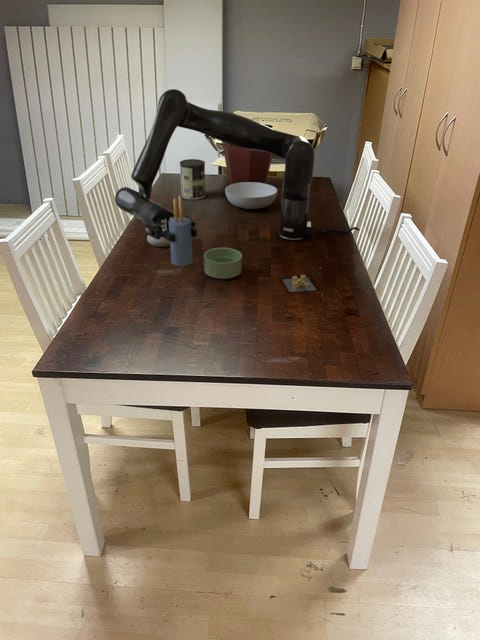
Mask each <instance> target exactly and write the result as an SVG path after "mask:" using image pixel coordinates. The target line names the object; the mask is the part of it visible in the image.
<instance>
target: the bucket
mask: <svg viewBox="0 0 480 640" xmlns="http://www.w3.org/2000/svg"><path fill="white" fill-rule="evenodd" d="M221 144H222V150H223V155H224V162H225V166H226V173H227V178H228V183H229V185H231V184H235V183H242V182H256V183H264V184H267V182H268V177H269V173H270V169H271V164H272V162H273V161H272V160H273V156H274V154H272V153H269V152H265V151H257V150H248V149H243V148H239V147H236V146H233V145H230V144H228V143H225V142H222V141H221Z"/></svg>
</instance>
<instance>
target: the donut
mask: <svg viewBox="0 0 480 640" xmlns="http://www.w3.org/2000/svg"><path fill="white" fill-rule="evenodd" d="M146 240H147V243H148V244H150V245H151V246H153V247H157V248H165V247H170V241H168V240H167V239H163V237H161V238H160V239H155V238H153V237H151V236H149V235H147V236H146Z"/></svg>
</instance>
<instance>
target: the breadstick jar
mask: <svg viewBox="0 0 480 640" xmlns="http://www.w3.org/2000/svg"><path fill="white" fill-rule="evenodd" d="M172 201H173V203H172V204H173V215H174V218H172V219H170V220H169V231H170V232H172V233H173V234H174V235H175V242H171V241H170V246H169V251H170V252H169V254H170V263H171V265H173V266H176V267H187V266H189V265H191V264H193V239H192V237H193V236H191V220H190V219H188V218H185V216H184V205H183V197H182V195H181V194H179V195H178V198H177V197H174V198H173V199H172ZM178 211H179V212H178ZM178 213H179V215H178ZM178 216H180V217H178Z"/></svg>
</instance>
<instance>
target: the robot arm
mask: <svg viewBox="0 0 480 640" xmlns="http://www.w3.org/2000/svg"><path fill="white" fill-rule="evenodd" d="M177 128H182V129H187V130H192V131H195V132H199V133H201V134H203V135H206V136H208V137H210V138H213V139H215V140H217V141H220V142H221V143H222V142H225V143H228V144H230V145H233V146H236V147H239V148H243V149H248V150H257V151H265V152H269V153H272V154H273V156H277V157H278V158H282V159H283V160H284V161H285V162H284V163H285V164H284V176H283V179H282V189H281V190H282V191H281V192H282V193H281V205H280V222H279V235H278V236H279V238H280V239H283V240H285V241H291V242H292V241H293V242H295V241H302V240H305V241H306V240H307V234H308V235H311V234H312V233H311V232H312V230H314V231H318V233H320V234H323V233H324V234H325V233H326V232H328V231H332V232H337V233H342V234H343V233H344V234H347V233H350V232H352V231H354V230H356V231H358V232H359V231H360V228H359V227H357V226H354V227H351V228H349V229H346V230H342V229H337V228H333V227H332V228H331V227H329V228H326V229H324V230H322V229H320V228H319V227H315V226H312V221H308V220H309V204H310V195H311V185H312V180H313V175H314V166H315V149H314V147H313V145H312V144H311V142H310V141H309V139H307V138H306V137H305V136H301V135H297V134H293V133H288V132H285V131H284V132H283V131H279V130H277V129H274V128H271V127H269V126H267V125H265V124H263V123H261V122H258V121H256V120H253V119H251V118H249V117H246V116H243V115H240V114H237V113H234V112H230V111H223V110H216V109H215V110H214V109H208V108H204V107H201V106H198V105H196V104H194V103H191V102H189V101H188V98H187V95H185V94H184V92H182V91H181V90H179V89H176V88H172V89H167V90H166V91H165V92H163V93H162V94H161V96H160V97H159V99H158V103H157V109H156V114H155V118H154V120H153V124H152V127H151V130H150V132H149V135H148V137H147V139H146V141H145V143H144V146H143V148H142V150H141V152H140V154H139V156H138V158H137V160H136V163H135V165H134V167H133V169H132V172H131V176H130V178H131V180H132V181H133V182H135V183H136V185H137V186H138V191H137V190H135V189H133V188H131V187H128V186H124V187H121V188H119V189H118V190H117V191H116V193H115V195H114V197H115V198H114V202H115V205H116V206H117V208H118V209H120V210H122V211H123V212H126V213H127V214H129V215H131V216H133V217H135V218H136V219H137V220H138V221H140V222H141V223H142V224H143V225H144V227H145V228H144V229H145V235H147V236H148V235H149V236H151V237H153V238H155V239H160V238H161V237H163V239H167V240H168V241H171V242H175V235H174V234H173V233H172V232H170V231H169V220H170V219H172V218H174V212H172V211H171V210H170V209H168V208H166V207H165V206H163V205H162V204H160V203H158V202H155V201H153V200H152V199H151V197H152V190H153V184H154V183H155V179H156V177H157V175H158V173H159V170H160V169H161V166H162V163H163V160H164V157H165V154H166V151H167V148H168V147H169V143H170V141H171V138H172V137H173V135H174V132H175V131H176V129H177ZM184 217H185V218H188V219H190V220H191V237H193V238H196V237H197V235H198V229H197V228H196V221H195V220H194V219H192V217H190V216H189V215H185V216H184Z"/></svg>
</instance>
